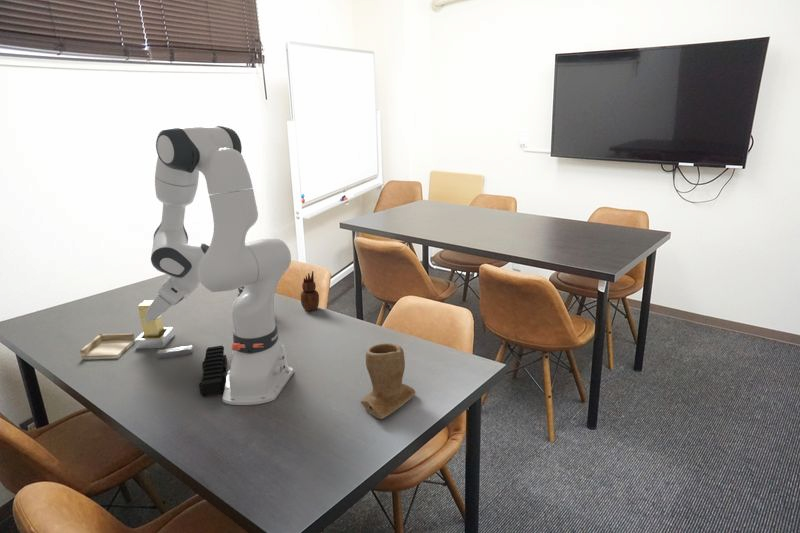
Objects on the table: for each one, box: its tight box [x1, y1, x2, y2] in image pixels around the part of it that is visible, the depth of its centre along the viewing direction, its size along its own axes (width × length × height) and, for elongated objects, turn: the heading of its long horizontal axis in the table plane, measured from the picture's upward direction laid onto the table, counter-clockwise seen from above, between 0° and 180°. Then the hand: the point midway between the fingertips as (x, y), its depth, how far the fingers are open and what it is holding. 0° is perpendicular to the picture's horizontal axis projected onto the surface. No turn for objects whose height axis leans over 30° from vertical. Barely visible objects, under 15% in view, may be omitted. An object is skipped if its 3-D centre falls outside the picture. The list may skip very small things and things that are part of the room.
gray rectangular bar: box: [156, 345, 194, 359], centre depth 153 cm, size 10×2×2 cm, turn 107°
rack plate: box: [80, 332, 136, 360], centre depth 155 cm, size 11×11×3 cm
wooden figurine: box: [300, 270, 320, 312], centre depth 182 cm, size 7×6×15 cm
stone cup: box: [360, 342, 416, 420], centre depth 124 cm, size 15×12×15 cm
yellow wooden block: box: [137, 299, 165, 338], centre depth 159 cm, size 4×4×14 cm
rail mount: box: [198, 345, 228, 398], centre depth 138 cm, size 21×6×5 cm, turn 17°
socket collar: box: [134, 326, 176, 349], centre depth 161 cm, size 9×9×3 cm
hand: (154, 314), depth 158 cm, fingers open, 8 cm apart
